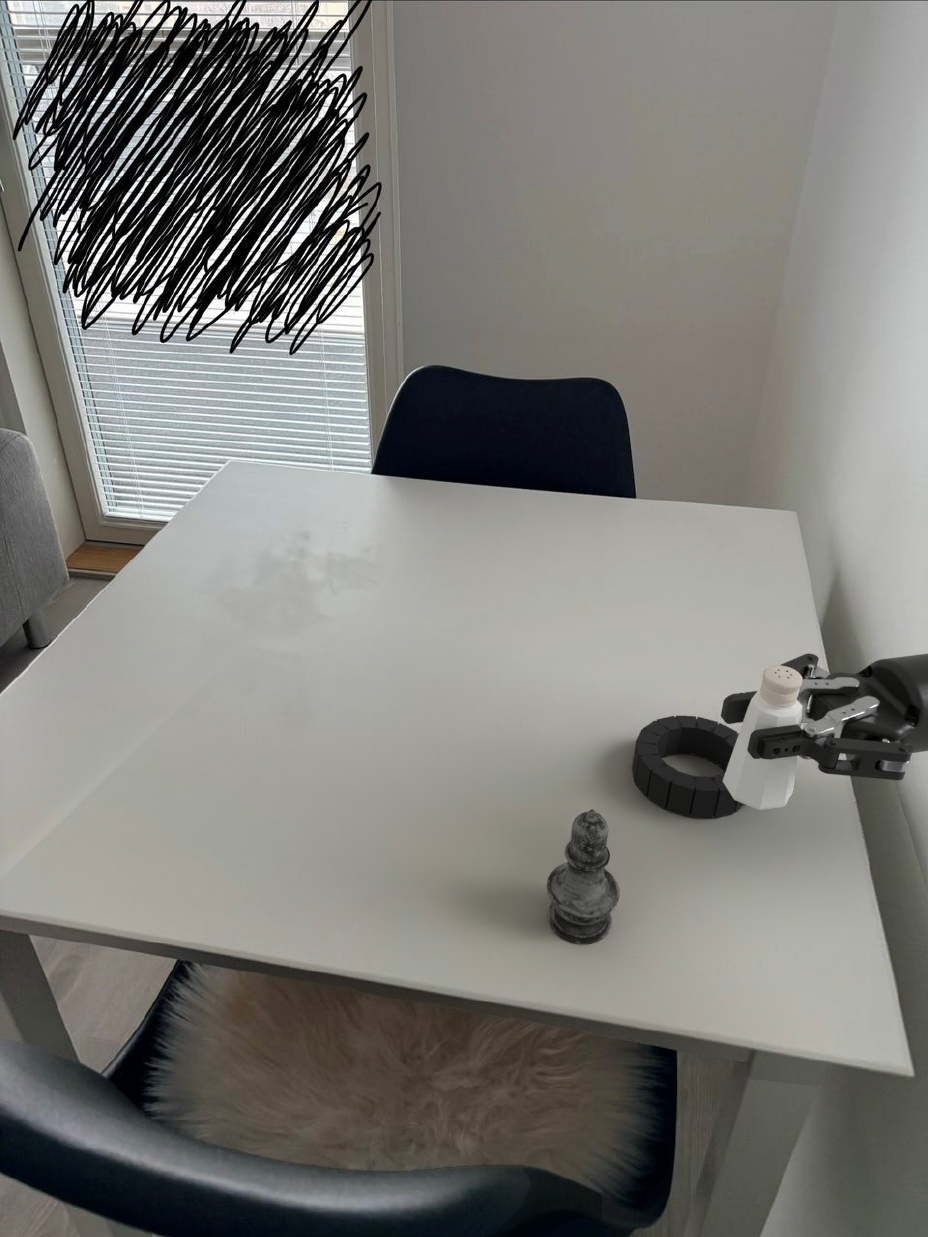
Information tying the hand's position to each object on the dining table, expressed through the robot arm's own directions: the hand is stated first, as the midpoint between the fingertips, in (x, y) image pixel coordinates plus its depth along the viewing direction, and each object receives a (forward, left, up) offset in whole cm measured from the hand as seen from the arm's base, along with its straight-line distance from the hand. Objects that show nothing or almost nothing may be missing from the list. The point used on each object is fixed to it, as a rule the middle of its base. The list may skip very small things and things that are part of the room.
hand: (738, 727), depth 66 cm
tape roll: (+9, -12, -18) cm, 23 cm away
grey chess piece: (+5, +10, -18) cm, 21 cm away
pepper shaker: (-1, -3, -7) cm, 7 cm away
